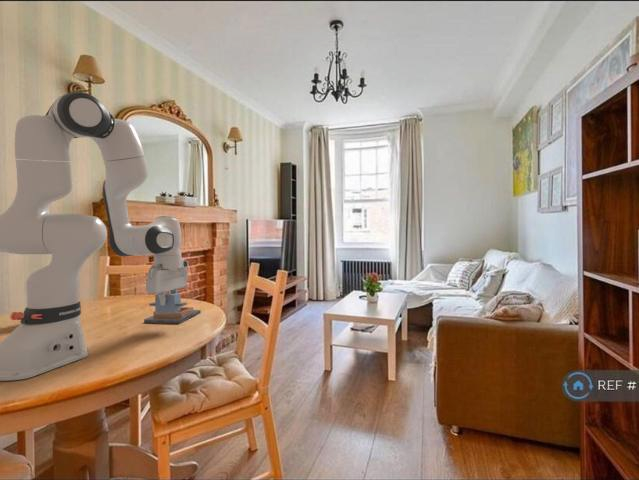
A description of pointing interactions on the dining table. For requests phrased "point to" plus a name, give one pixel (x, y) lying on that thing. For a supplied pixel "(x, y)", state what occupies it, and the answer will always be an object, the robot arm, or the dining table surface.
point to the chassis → (173, 316)
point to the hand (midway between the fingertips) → (168, 303)
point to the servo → (169, 303)
